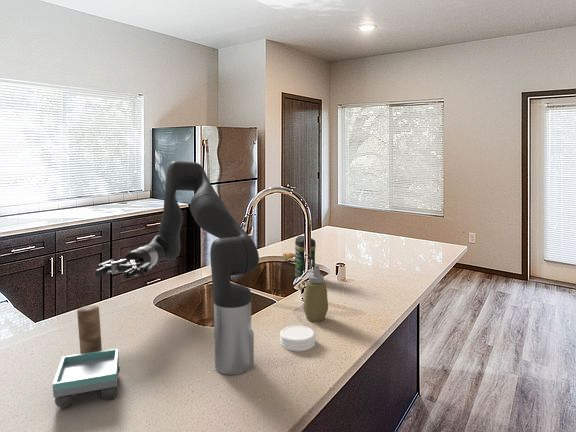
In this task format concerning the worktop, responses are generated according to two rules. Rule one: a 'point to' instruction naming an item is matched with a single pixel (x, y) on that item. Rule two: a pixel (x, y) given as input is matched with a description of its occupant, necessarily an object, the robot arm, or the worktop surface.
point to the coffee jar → (302, 255)
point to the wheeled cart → (86, 375)
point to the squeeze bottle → (316, 297)
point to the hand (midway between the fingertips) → (111, 275)
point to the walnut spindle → (89, 329)
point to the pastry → (288, 256)
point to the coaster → (297, 338)
